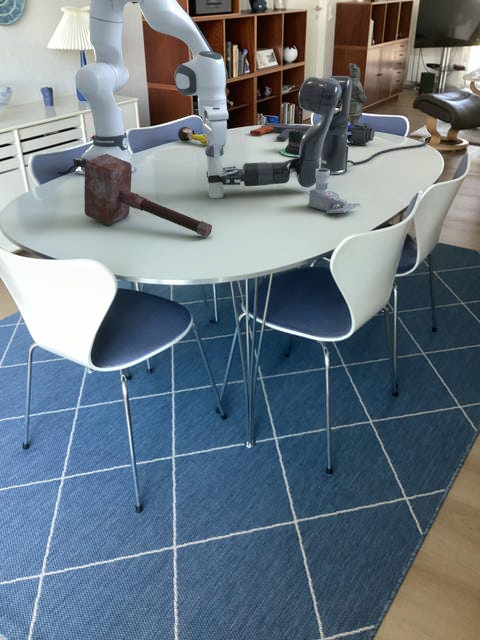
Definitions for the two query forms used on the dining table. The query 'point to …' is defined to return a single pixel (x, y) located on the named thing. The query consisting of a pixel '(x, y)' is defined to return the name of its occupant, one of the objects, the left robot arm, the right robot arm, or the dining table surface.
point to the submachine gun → (277, 129)
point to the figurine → (191, 136)
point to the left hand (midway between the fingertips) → (214, 154)
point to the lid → (210, 150)
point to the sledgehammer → (124, 196)
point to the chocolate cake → (294, 142)
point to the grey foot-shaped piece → (327, 195)
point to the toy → (360, 133)
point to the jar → (215, 169)
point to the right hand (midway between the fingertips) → (207, 177)
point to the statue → (356, 95)
